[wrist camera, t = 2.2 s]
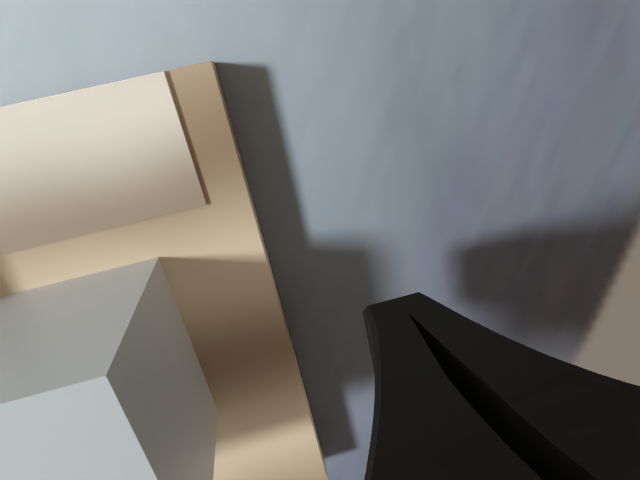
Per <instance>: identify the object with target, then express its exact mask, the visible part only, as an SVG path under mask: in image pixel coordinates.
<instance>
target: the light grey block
mask: <svg viewBox="0 0 640 480" xmlns="http://www.w3.org/2000/svg"><path fill="white" fill-rule="evenodd" d="M217 416H218V410H217V407H216V405H215V402H214V400H213V397H212V394H211V392H210V389H209V387H208V384H207V381H206V379H205V376H204V374H203V371H202V369H201V366H200V363H199V361H198V358H197V356H196V353H195V350H194V348H193V345H192V343H191V340H190V337H189V335H188V332H187V330H186V327H185V324H184V322H183V319H182V317H181V314H180V311H179V309H178V306H177V304H176V301H175V299H174V296H173V293H172V291H171V288H170V286H169V283H168V280H167V278H166V275H165V273H164V270H163V267H162V265H161V262H160V260H159V257H156V258H152V259H148V260H144V261H140V262H136V263H132V264H128V265H125V266H121V267H117V268H113V269H109V270H105V271H101V272H97V273H93V274H89V275H85V276H81V277H77V278H73V279H69V280H65V281H61V282H57V283H53V284H49V285H45V286H41V287H37V288H33V289H29V290H25V291H21V292H17V293H13V294H9V295H5V296H1V297H0V480H213V474H214V460H215V445H216V430H217Z"/></svg>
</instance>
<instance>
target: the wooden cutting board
mask: <svg viewBox="0 0 640 480" xmlns="http://www.w3.org/2000/svg"><path fill="white" fill-rule="evenodd" d="M156 257H159V260H160V262H161V265H162V267H163V270H164V273H165V275H166V278H167V280H168V283H169V286H170V288H171V291H172V293H173V296H174V299H175V301H176V304H177V306H178V309H179V311H180V314H181V317H182V319H183V322H184V324H185V327H186V330H187V332H188V335H189V337H190V340H191V343H192V345H193V348H194V350H195V353H196V356H197V358H198V361H199V363H200V366H201V369H202V371H203V374H204V376H205V379H206V381H207V384H208V387H209V389H210V392H211V394H212V397H213V400H214V402H215V405H216V407H217V410H218V416H217V430H216V445H215V460H214V474H213V480H328V478H327V473H326V468H325V464H324V459H323V454H322V450H321V446H320V443H319V439H318V436H317V432H316V428H315V425H314V421H313V417H312V414H311V410H310V407H309V403H308V399H307V396H306V392H305V388H304V385H303V381H302V378H301V374H300V370H299V367H298V363H297V360H296V356H295V352H294V349H293V345H292V341H291V338H290V334H289V331H288V327H287V323H286V320H285V316H284V312H283V309H282V305H281V302H280V298H279V294H278V291H277V287H276V284H275V280H274V276H273V273H272V269H271V265H270V262H269V258H268V255H267V251H266V247H265V244H264V240H263V236H262V233H261V229H260V226H259V222H258V218H257V215H256V211H255V208H254V204H253V200H252V197H251V193H250V189H249V186H248V182H247V179H246V175H245V171H244V168H243V164H242V160H241V157H240V153H239V150H238V146H237V142H236V139H235V135H234V132H233V128H232V124H231V121H230V117H229V113H228V110H227V106H226V103H225V99H224V95H223V92H222V88H221V84H220V81H219V77H218V74H217V70H216V66H215V63H214V62H213V61H209V62H204V63H200V64H195V65H191V66H186V67H181V68H177V69H172V70H168V71H162V72H158V73H153V74H149V75H144V76H139V77H135V78H130V79H126V80H121V81H116V82H112V83H107V84H103V85H98V86H93V87H89V88H84V89H80V90H75V91H70V92H66V93H61V94H57V95H52V96H48V97H43V98H38V99H34V100H29V101H25V102H20V103H15V104H11V105H6V106H2V107H0V297H1V296H5V295H9V294H13V293H17V292H21V291H25V290H29V289H33V288H37V287H41V286H45V285H49V284H53V283H57V282H61V281H65V280H69V279H73V278H77V277H81V276H85V275H89V274H93V273H97V272H101V271H105V270H109V269H113V268H117V267H121V266H125V265H128V264H132V263H136V262H140V261H144V260H148V259H152V258H156Z"/></svg>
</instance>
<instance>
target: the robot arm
mask: <svg viewBox="0 0 640 480" xmlns="http://www.w3.org/2000/svg"><path fill="white" fill-rule="evenodd" d="M363 314H364V319H365V325H366V330H367V335H368V340H369V345H370V351H371V356H372V361H373V366H374V372H375V402H374V415H373V426H372V435H371V442H370V449H369V455H368V462H367V468H366V473H365V479H364V480H640V386H637V385H633V384H629V383H626V382H622V381H620V380H616V379H613V378H610V377H607V376H603V375H601V374H598V373H595V372H592V371H589V370H586V369H583V368H581V367H578V366H575V365H572V364H569V363H567V362H564V361H561V360H558V359H556V358H553V357H551V356H548V355H546V354H543V353H541V352H538V351H536V350H534V349H531V348H529V347H527V346H525V345H522V344H520V343H518V342H515V341H513V340H511V339H509V338H506V337H504V336H502V335H500V334H498V333H496V332H494V331H492V330H490V329H488V328H486V327H484V326H482V325H480V324H478V323H476V322H474V321H472V320H470V319H468V318H466V317H464V316H462V315H460V314H459V313H457V312H455V311H453V310H451V309H449V308H447V307H446V306H444V305H442V304H440V303H438V302H436V301H435V300H433V299H431V298H429V297H427V296H425V295H423V294H421V293H419V292H418V293H414V294H410V295H407V296H403V297H399V298H396V299H392V300H388V301H384V302H381V303H377V304H373V305H370V306H367V307H366V308H365V310H364V311H363Z"/></svg>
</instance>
